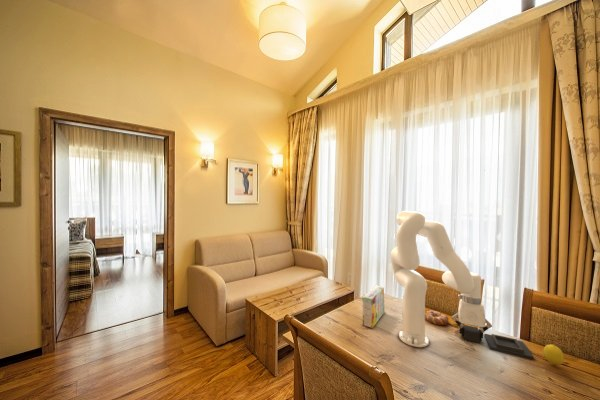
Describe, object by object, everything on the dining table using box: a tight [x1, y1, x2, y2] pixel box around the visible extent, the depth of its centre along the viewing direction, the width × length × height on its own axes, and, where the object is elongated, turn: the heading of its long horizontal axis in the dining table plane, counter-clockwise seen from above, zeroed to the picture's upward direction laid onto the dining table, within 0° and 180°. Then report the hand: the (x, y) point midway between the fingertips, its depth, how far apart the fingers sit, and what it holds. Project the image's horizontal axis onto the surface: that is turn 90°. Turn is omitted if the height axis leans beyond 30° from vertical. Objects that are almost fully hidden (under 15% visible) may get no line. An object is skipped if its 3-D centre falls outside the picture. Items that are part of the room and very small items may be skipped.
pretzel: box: [425, 310, 449, 326], centre depth 127 cm, size 12×11×4 cm
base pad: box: [483, 332, 534, 360], centre depth 104 cm, size 12×14×2 cm
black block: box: [463, 324, 481, 344], centre depth 111 cm, size 6×6×4 cm
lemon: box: [542, 344, 565, 366], centre depth 93 cm, size 6×6×8 cm
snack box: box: [362, 284, 386, 329], centre depth 129 cm, size 21×6×15 cm, turn 144°
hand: (471, 337), depth 111 cm, fingers open, 6 cm apart
